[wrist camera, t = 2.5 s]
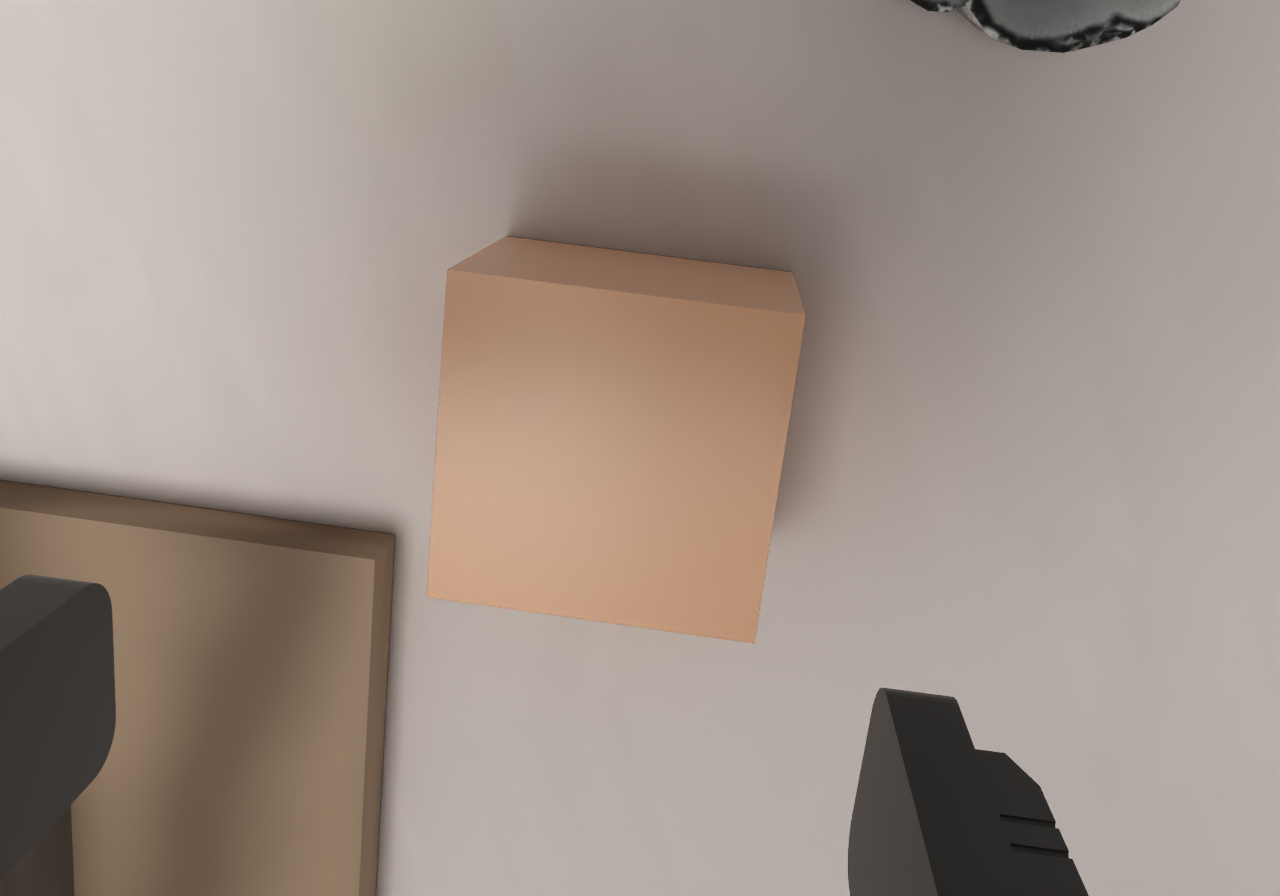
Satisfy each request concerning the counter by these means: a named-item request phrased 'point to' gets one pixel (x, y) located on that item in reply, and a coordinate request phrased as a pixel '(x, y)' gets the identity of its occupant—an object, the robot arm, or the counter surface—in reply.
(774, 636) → the counter surface
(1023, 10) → the brain slice
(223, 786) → the socket base
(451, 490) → the peach tan cube
